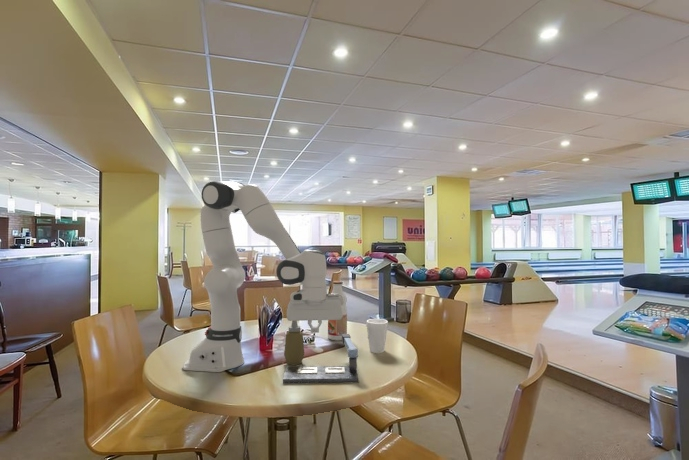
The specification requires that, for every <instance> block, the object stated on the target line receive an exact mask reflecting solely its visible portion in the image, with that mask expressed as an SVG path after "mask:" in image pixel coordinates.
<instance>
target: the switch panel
mask: <svg viewBox="0 0 689 460" xmlns="http://www.w3.org/2000/svg"><path fill="white" fill-rule="evenodd" d="M357 361H358V357H356V358H350V357H348V365H308V366H307V365H301V366H300V365H299V366H297V365H290V366H286V368H285V372H284V374H283V378H282V384H340V383H341V384H342V383H343V384H349V383H350V384H351V383H356V384H357V383H359V382H360V381H359V379H360V378H359V373H358V369H357V367H358V366H357V364H358V362H357Z"/></svg>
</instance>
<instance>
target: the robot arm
mask: <svg viewBox="0 0 689 460" xmlns="http://www.w3.org/2000/svg"><path fill="white" fill-rule="evenodd" d="M201 200H202V202H203V205H204V206H202V208H201V209H200V228H201V235H202V238H203V244H204V249H205V253H206V255H207V256H208V257H209V260H210V262H211V264H212V267H213V268H211V269H210V270H209V271H208V272H207V274H206V275H205V277H204V279H203V285H204V288H205V290H206V291H207V294H208V299H209V304H210V326H209V327H208V328H207V329H206V331H204V335H205V338H204V339H203V340H201V341H200V342H199V343H198V344H196V345H195V346H193V348H192V349H191V352H190V353H189V354H190V355H189V358H188V359H187V360H186V361H185V362H184V363H183V364H182V369H183V370H184V371H192V372H193V371H194V372H195V371H197V372H212V373H221V372H224V371H227V370H231V369H235V368H237V367H240V366H241V365H243V364H244V363H245V358H244V355H243V350H242V349H243V348H242V343H241V341H242V337H243V335H242V334H243V331H242V326H241V305H240V303H239V297H238V292H237V291H238V289H239V288H241V286H242V285H243V283H244V282H245V280H246V271H245V270H244V268H243V266H242V262H241V260H240V257H239V254H238V252H237V249H236V245H235V240H234V236H233V231H232V226H231V221H230V215H231V214H232V213H233V214H235V213H238V212H239V211H241V214H242V215H243V217H244V220H245V221H246V223H247V224H248V226H249V227H250V228H251V230H252V231H253V232H254V233H255V234H257V235H259V236H262V237H264V238H267V239H268V240H271V241H272V242H273V243H274V244H275V245H276V246H277V248H278V249H279V251H280V253H281V254H282V256H283V257H284V260H282V261H280V262H279V263H278V264H277V267H276V272H275V273H276V277H277V279H278V280H279V282H280V283H281V284H283V285H286V286H287V285H288V286H294V285H296V284H301V285H302V286H301V287H302V288H301V289H298V290H296V291H293V292H291V293H290V295H289V300H290V301H288V304H287V308H286V319H287V321H288V322H290V321H291V322H292V321H297V322H299V321H302V322H303V321H307V325H308V327H309V328H310V333H315V334H316V333H320V327H321V325H322V324H323V321H328V320H341V319H342V317H343V316H342V305H343V297H342V296H341V295H339V294H331V293H328V292H327V289H328V288H327V287H328V286H327V280H326V279H327V278H326V277H327V260H326V255H325V253H324V252H322V251H321V250H318V249H311V248H307V249H304V250H303V251H301V250H300V249H299V247H298V246H297V244H296V243H295V241H294V240H293V238H292V237H291V236H290V234H289V232H288V231H287V230H286V228H285V227H284V225H283V223H282V221H281V220H280V218H279V216H278V214H277V212H276V211H275V209H274V206H273V205H272V203H271V202H270V200H269V198H268V197H267V196H266V194H265V193H264V191H262V190H261V188H260V187H259V186H258V185H256V184H252V183H249V184H244V183H241V182H235V181H230V180H226V181H223V180H222V181H220V180H213V181H209V182H208V183H206V184H205V185H204V186H203V187H202V191H201ZM339 296H341V297H339ZM313 321H317V323H318V324H317V326H313V324H312V322H313Z"/></svg>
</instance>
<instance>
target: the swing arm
mask: <svg viewBox="0 0 689 460" xmlns="http://www.w3.org/2000/svg"><path fill="white" fill-rule="evenodd" d="M341 342H342V344H343V345H344V346H345V348H346V350H347V357H348V358H349V357H350V358H356V357H357V358H358V356H359V348H357V347H356V346H355V345H354V343H353V342H352V340H351V335H350V334H349V333H347V334H342V340H341Z"/></svg>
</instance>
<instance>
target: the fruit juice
mask: <svg viewBox="0 0 689 460" xmlns="http://www.w3.org/2000/svg"><path fill="white" fill-rule="evenodd" d="M343 284H344V283H343V281H342V280H333V281H332V285H333V286H332V290H331V293H330V294H339V295H341V296H342V297H343V305H342V316H343V317H342V319H341V320H327V337H328V338H327V339H328V340H331V341H342V334H348V309H347V303H348V302H347V301H348V300H347V298H348V297H347V296H346V294H345V293H344V291H343V290H344V289H343ZM341 296H339V297H341Z"/></svg>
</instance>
